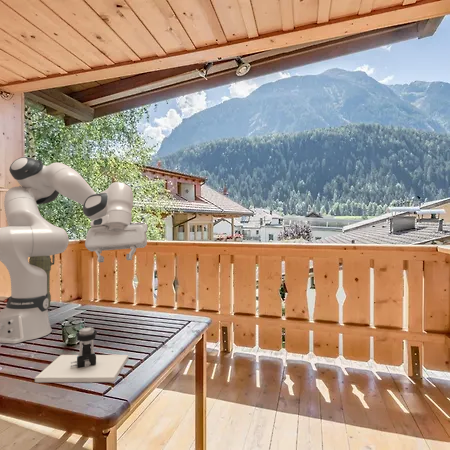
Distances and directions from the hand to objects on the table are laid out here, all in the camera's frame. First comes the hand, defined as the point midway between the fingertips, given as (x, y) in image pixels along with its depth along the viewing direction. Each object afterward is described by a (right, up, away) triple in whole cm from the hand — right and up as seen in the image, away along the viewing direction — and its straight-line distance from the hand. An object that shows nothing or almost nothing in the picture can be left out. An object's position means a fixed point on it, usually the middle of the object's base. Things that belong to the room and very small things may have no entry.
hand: (114, 260), depth 108 cm
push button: (-3, -27, -17) cm, 33 cm away
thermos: (-50, -27, +44) cm, 72 cm away
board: (-2, -28, -17) cm, 33 cm away
